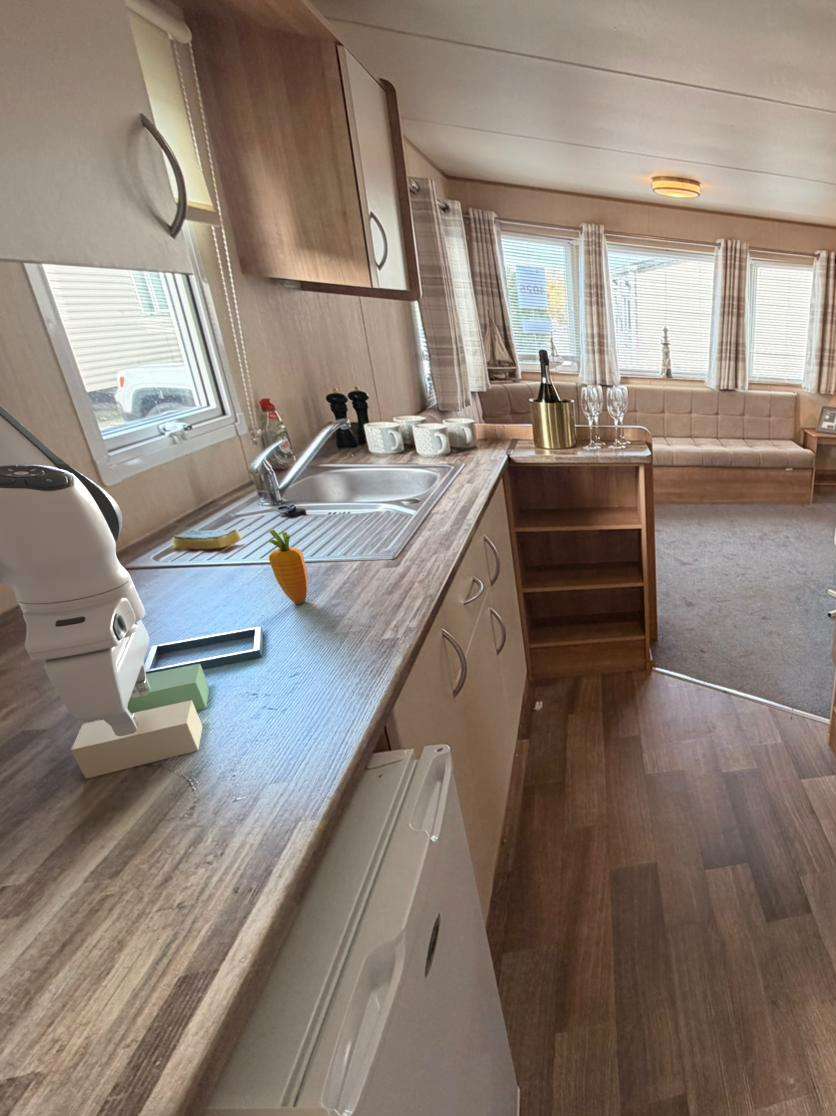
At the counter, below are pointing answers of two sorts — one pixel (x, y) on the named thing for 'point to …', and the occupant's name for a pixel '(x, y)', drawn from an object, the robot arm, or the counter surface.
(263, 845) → the counter surface
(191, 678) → the sage pad
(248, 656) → the pad tray
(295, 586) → the carrot
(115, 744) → the cream pad
